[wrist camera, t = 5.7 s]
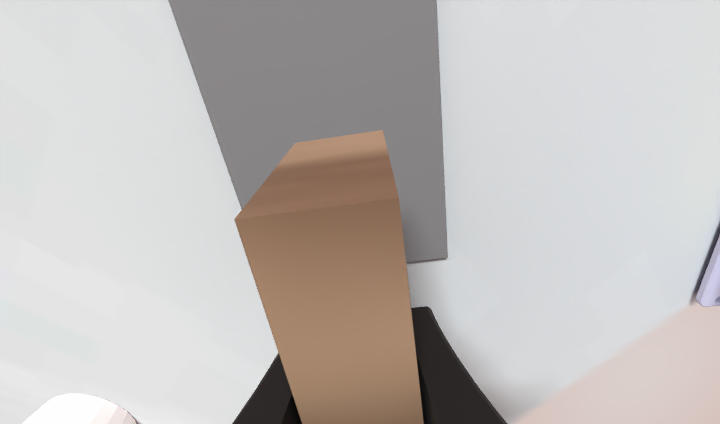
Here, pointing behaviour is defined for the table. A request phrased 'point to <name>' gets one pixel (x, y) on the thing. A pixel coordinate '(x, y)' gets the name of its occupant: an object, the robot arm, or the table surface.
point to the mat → (325, 91)
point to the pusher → (336, 281)
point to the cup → (80, 411)
